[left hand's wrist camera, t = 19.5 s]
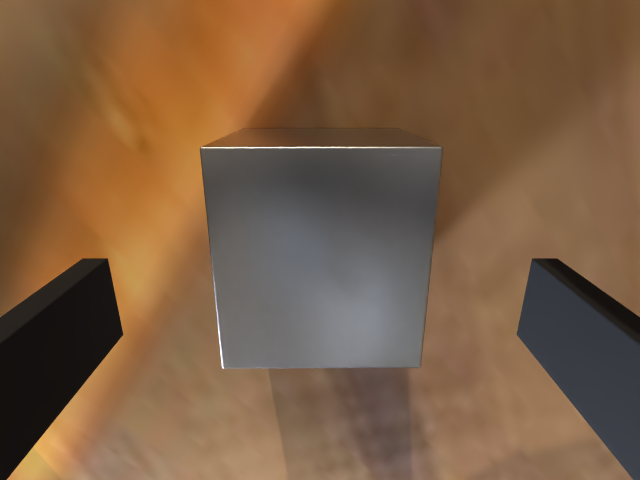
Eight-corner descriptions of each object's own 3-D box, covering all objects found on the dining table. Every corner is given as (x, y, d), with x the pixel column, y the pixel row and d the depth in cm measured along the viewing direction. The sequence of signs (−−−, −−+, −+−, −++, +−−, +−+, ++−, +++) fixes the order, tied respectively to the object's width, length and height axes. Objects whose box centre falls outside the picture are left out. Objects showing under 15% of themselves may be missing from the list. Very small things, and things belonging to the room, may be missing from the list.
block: (389, 283, 24) (421, 368, 17) (252, 283, 24) (221, 369, 17) (399, 128, 21) (444, 146, 14) (241, 128, 21) (198, 146, 14)
